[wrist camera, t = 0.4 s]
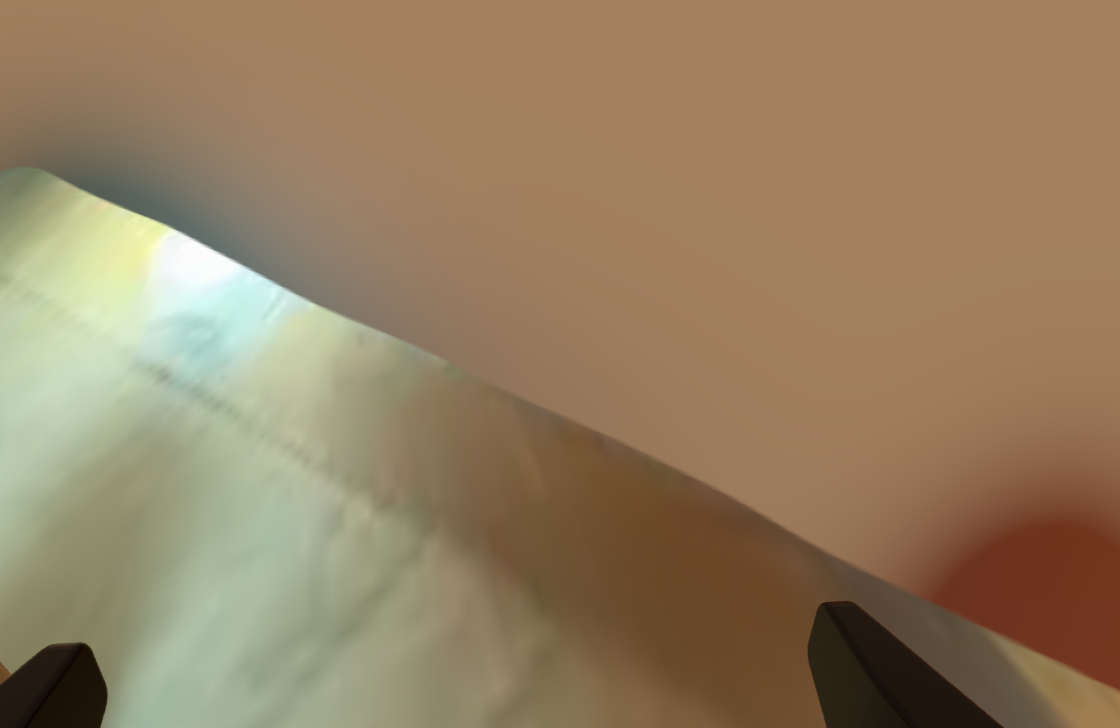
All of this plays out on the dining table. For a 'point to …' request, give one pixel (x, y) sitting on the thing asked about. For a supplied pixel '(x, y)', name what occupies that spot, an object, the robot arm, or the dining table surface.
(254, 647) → the dining table surface
